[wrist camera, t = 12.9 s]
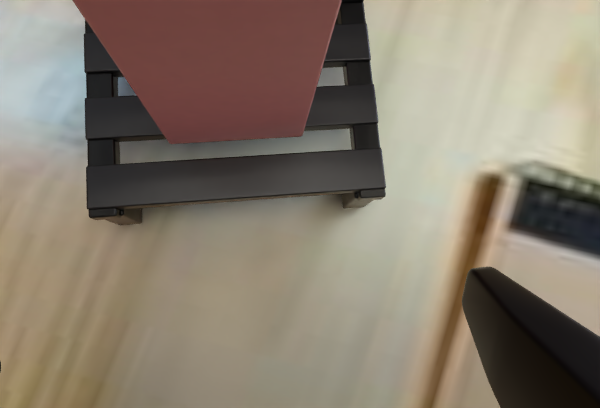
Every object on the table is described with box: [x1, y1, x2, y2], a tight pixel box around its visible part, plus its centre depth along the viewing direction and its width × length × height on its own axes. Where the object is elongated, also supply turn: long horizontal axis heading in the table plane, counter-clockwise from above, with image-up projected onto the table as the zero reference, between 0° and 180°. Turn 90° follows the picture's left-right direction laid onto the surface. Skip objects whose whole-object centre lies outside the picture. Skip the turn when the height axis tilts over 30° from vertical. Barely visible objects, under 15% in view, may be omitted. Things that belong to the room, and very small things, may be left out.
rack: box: [84, 0, 386, 225], centre depth 19 cm, size 10×11×6 cm
